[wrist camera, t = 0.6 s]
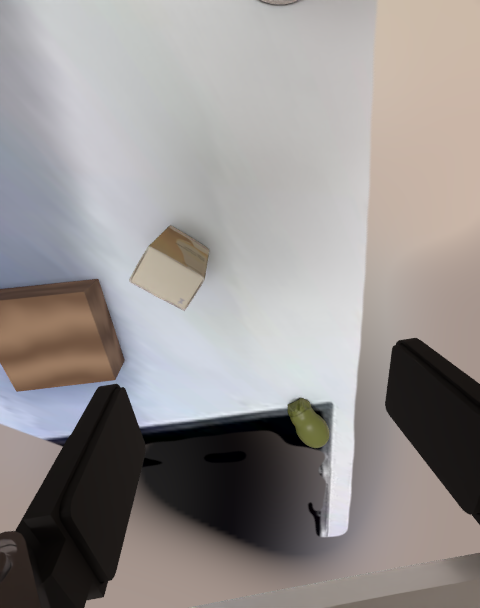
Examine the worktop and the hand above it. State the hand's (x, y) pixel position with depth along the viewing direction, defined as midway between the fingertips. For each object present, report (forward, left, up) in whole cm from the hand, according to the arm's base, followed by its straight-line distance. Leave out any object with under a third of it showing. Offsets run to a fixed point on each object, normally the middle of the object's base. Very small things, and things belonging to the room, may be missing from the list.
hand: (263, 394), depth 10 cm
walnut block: (+12, -25, -31) cm, 42 cm away
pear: (+36, +12, -31) cm, 49 cm away
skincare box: (+2, -6, -31) cm, 31 cm away
